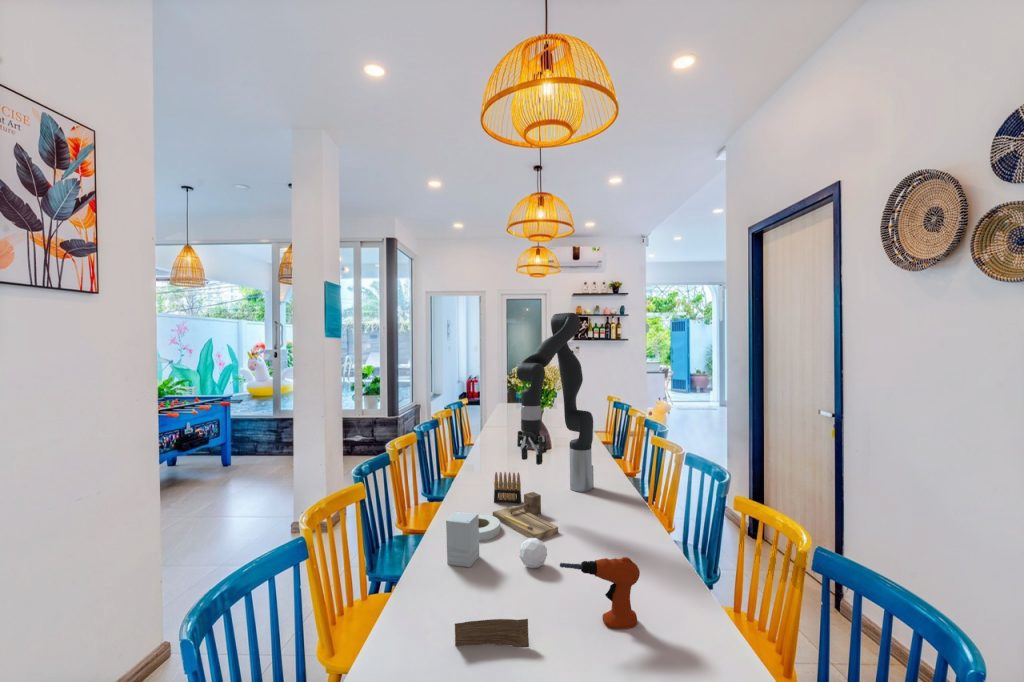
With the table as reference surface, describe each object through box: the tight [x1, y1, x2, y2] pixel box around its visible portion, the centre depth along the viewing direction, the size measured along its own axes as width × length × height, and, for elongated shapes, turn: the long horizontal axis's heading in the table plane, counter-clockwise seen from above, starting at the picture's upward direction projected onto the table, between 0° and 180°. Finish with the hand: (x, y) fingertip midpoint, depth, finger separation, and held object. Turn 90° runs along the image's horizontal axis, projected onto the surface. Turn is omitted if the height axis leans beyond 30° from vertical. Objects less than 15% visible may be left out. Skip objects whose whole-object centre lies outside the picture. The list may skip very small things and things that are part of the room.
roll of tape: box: [477, 513, 501, 541], centre depth 151 cm, size 16×15×3 cm
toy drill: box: [559, 556, 641, 630], centre depth 101 cm, size 5×19×15 cm, turn 93°
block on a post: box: [509, 491, 542, 517], centre depth 163 cm, size 12×4×7 cm, turn 126°
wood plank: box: [454, 618, 530, 649], centre depth 94 cm, size 15×2×5 cm, turn 92°
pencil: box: [504, 515, 533, 530], centre depth 152 cm, size 1×14×1 cm, turn 41°
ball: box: [519, 538, 548, 569], centre depth 127 cm, size 8×8×8 cm
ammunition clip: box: [493, 471, 522, 505], centre depth 177 cm, size 11×2×12 cm, turn 82°
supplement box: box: [445, 511, 480, 568], centre depth 131 cm, size 7×7×13 cm
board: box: [492, 505, 559, 540], centre depth 155 cm, size 10×24×2 cm, turn 36°
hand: (531, 461), depth 165 cm, fingers open, 8 cm apart
